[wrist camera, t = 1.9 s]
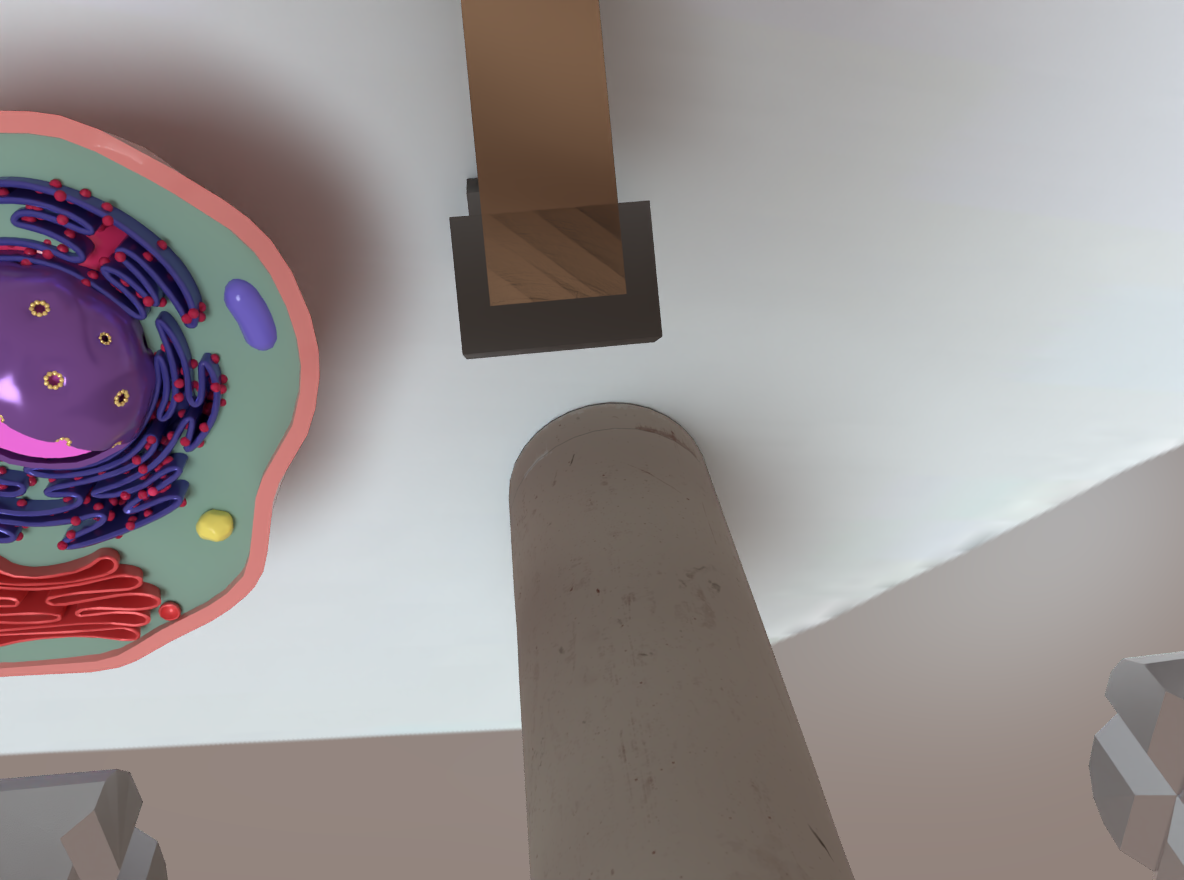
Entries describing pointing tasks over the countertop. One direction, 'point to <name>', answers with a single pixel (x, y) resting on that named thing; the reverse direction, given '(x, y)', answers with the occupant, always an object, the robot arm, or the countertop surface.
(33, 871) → the robot arm
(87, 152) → the cell model
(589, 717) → the thermos bottle
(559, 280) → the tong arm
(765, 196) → the countertop surface
